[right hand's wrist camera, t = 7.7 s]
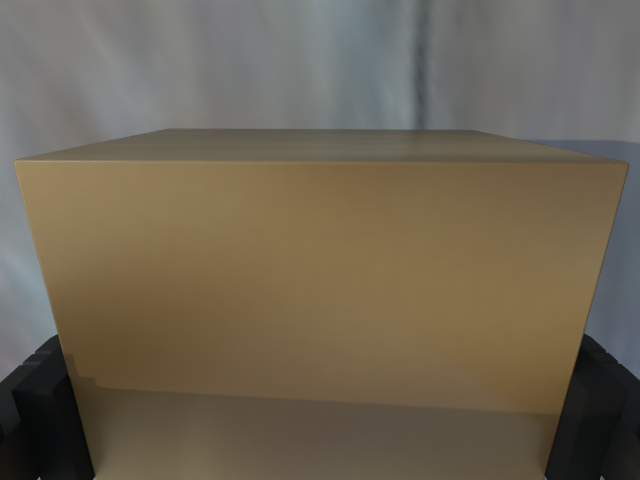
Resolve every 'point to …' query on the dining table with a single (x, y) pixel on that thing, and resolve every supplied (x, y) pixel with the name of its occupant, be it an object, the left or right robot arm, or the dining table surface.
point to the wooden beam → (320, 299)
